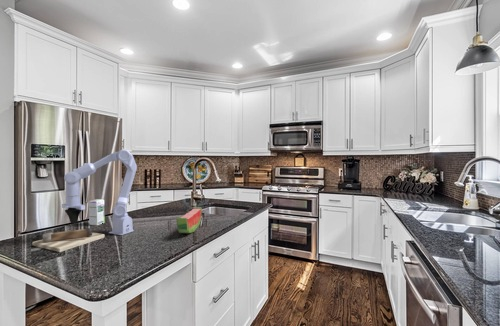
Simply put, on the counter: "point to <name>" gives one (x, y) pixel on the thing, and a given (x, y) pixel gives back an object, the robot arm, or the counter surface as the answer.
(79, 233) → the lever
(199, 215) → the fruit slice
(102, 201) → the syrup box
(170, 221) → the counter surface
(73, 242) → the board
